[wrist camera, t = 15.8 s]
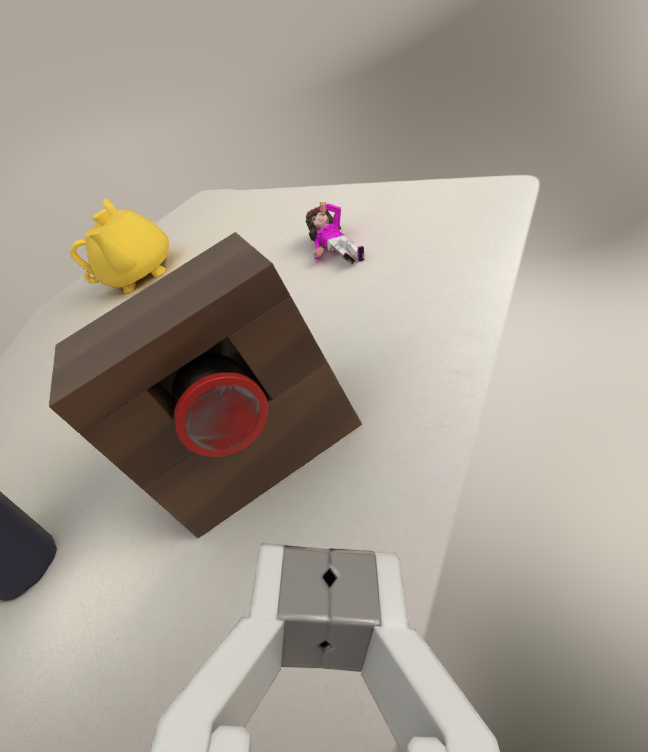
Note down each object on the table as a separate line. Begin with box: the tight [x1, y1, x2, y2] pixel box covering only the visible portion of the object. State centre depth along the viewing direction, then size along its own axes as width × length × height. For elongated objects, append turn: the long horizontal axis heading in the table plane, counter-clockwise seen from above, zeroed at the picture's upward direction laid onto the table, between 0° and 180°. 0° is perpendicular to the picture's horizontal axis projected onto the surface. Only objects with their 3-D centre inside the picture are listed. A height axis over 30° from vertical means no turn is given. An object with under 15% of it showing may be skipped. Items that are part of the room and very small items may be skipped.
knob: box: [172, 353, 268, 457], centre depth 28 cm, size 4×5×5 cm
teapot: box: [70, 199, 169, 294], centre depth 77 cm, size 20×15×12 cm
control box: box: [49, 232, 362, 538], centre depth 33 cm, size 8×14×14 cm, turn 116°
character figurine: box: [306, 202, 364, 264], centre depth 56 cm, size 6×5×12 cm
